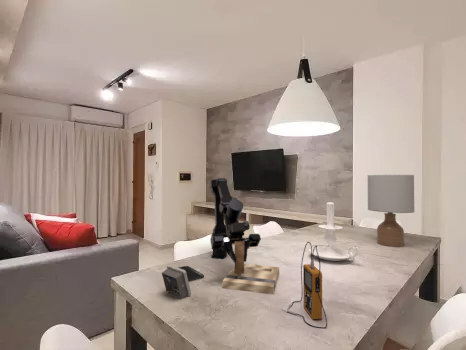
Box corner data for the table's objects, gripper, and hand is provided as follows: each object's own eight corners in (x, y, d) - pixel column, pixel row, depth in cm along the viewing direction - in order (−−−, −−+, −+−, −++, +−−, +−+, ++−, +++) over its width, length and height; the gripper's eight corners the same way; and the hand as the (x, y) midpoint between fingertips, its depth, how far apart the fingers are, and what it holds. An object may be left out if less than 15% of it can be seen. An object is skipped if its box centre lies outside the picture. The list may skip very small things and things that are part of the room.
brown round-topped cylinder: (232, 280, 93) (232, 241, 93) (238, 277, 95) (238, 240, 96) (240, 282, 90) (240, 243, 91) (246, 279, 93) (246, 241, 93)
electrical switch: (191, 296, 84) (190, 268, 83) (179, 303, 80) (177, 274, 79) (174, 288, 89) (172, 262, 89) (161, 294, 85) (159, 268, 85)
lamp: (361, 243, 154) (361, 175, 155) (376, 237, 170) (375, 175, 171) (408, 252, 136) (407, 174, 137) (419, 244, 152) (418, 175, 153)
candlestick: (344, 271, 107) (343, 205, 108) (300, 256, 128) (299, 201, 129) (371, 263, 118) (370, 203, 119) (326, 250, 139) (326, 199, 140)
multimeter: (276, 302, 79) (276, 238, 80) (307, 301, 80) (307, 238, 81) (291, 330, 65) (291, 251, 65) (329, 328, 65) (328, 251, 66)
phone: (187, 265, 111) (205, 275, 99) (187, 268, 111) (205, 278, 99) (170, 269, 106) (187, 280, 95) (170, 272, 106) (187, 283, 95)
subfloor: (222, 287, 90) (222, 280, 90) (237, 269, 109) (237, 263, 109) (273, 294, 85) (273, 286, 85) (279, 273, 104) (279, 267, 104)
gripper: (212, 214, 95) (218, 252, 84) (259, 213, 100) (270, 248, 89) (209, 231, 102) (214, 268, 91) (252, 229, 107) (262, 263, 96)
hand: (240, 261), depth 92 cm, fingers closed on brown round-topped cylinder, 4 cm apart
